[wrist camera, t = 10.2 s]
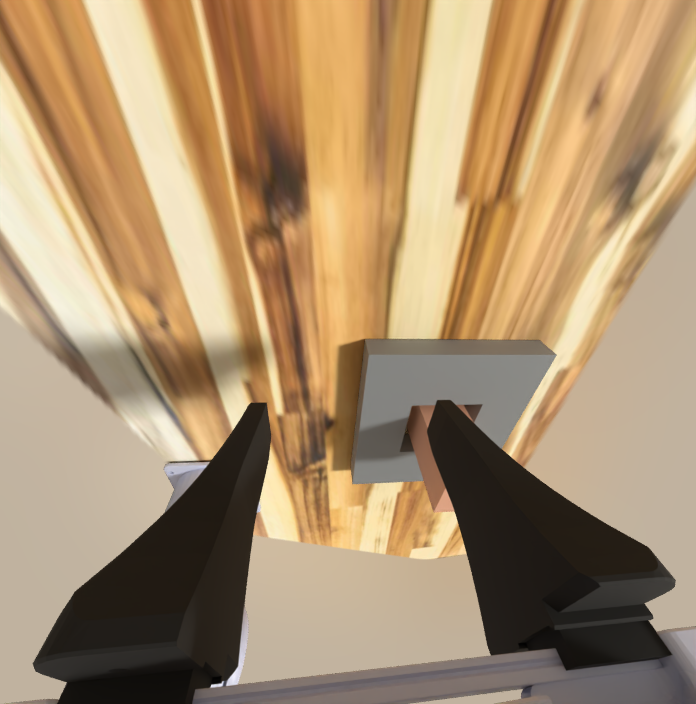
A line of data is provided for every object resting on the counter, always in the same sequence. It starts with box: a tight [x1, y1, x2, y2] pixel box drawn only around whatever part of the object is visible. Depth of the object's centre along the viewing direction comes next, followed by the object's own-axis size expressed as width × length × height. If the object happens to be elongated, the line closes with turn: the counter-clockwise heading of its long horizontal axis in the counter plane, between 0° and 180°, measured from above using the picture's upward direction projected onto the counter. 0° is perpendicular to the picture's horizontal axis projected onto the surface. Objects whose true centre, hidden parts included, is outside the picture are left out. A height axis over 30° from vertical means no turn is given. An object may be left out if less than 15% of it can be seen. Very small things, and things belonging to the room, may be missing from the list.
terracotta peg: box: [406, 405, 472, 512], centre depth 23 cm, size 4×4×8 cm
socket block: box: [351, 339, 556, 484], centre depth 26 cm, size 16×14×2 cm
